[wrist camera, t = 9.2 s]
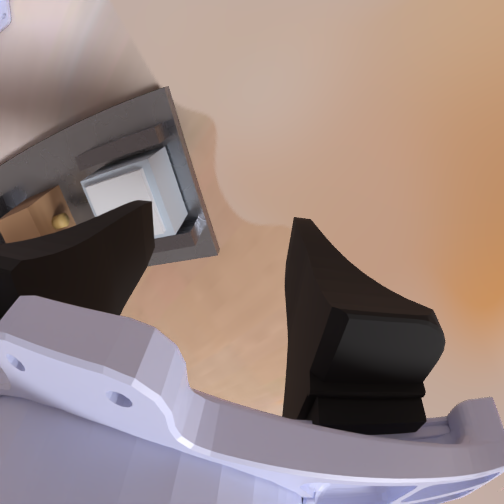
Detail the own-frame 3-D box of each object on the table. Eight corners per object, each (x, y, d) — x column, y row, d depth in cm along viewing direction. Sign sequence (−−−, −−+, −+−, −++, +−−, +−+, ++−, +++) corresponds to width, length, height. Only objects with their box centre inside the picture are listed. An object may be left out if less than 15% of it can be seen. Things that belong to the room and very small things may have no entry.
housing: (25, 199, 22) (-5, 222, 18) (67, 181, 21) (35, 204, 17) (46, 244, 24) (21, 270, 21) (90, 233, 23) (64, 261, 20)
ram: (101, 166, 20) (76, 184, 17) (164, 146, 19) (145, 161, 16) (125, 227, 22) (106, 251, 20) (187, 213, 21) (173, 237, 19)
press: (-13, 174, 22) (-41, 192, 18) (168, 86, 18) (143, 91, 14) (38, 279, 28) (17, 304, 24) (219, 249, 24) (208, 282, 20)
